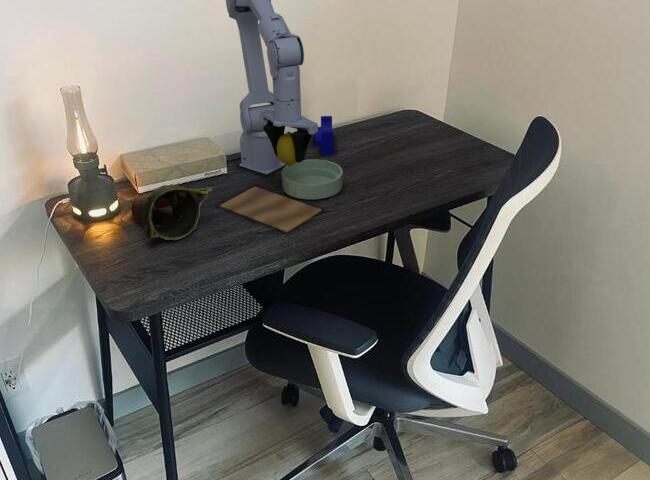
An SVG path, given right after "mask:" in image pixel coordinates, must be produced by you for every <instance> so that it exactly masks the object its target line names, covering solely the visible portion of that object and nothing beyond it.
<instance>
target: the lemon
mask: <svg viewBox="0 0 650 480" xmlns="http://www.w3.org/2000/svg"><path fill="white" fill-rule="evenodd" d="M291 133H292V132H291V131H287V132H284V134H283V135H282V136H281V137H280V138H279V140H278V143H277V154H278V157H279V160H281V162H283V163H284V164H287V165H288V166H292V165H293V164H295V163H297V162H296V159H295V148H294V143H293V140H292V137H291ZM287 165H286V166H287Z"/></svg>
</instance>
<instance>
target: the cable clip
mask: <svg viewBox="0 0 650 480" xmlns="http://www.w3.org/2000/svg"><path fill="white" fill-rule="evenodd" d="M314 135H315V146H316V147H320V148H321V149H320V150H321V155H322V156H328V155H330V156H332V155H333V156H334V130H333V115H321V116H320V126H318V132H316V133H314Z"/></svg>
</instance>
